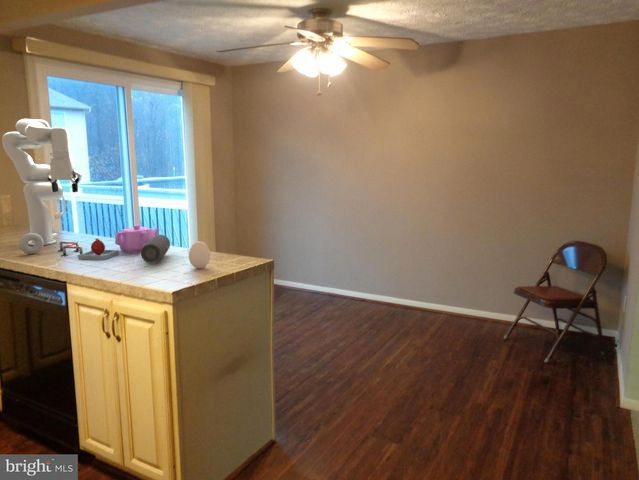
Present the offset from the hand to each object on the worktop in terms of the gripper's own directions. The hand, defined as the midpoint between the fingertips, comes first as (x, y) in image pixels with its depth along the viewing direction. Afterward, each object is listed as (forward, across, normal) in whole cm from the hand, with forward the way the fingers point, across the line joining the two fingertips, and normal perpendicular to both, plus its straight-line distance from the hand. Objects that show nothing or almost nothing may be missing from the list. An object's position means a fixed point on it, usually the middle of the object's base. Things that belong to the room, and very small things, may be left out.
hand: (65, 191), depth 218 cm
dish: (+28, +20, -11) cm, 37 cm away
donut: (+28, -13, -9) cm, 33 cm away
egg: (+28, +73, -27) cm, 83 cm away
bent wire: (+28, +4, -6) cm, 29 cm away
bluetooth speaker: (+29, +49, -14) cm, 58 cm away
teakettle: (+29, +31, +6) cm, 43 cm away
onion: (+28, +20, -11) cm, 36 cm away
